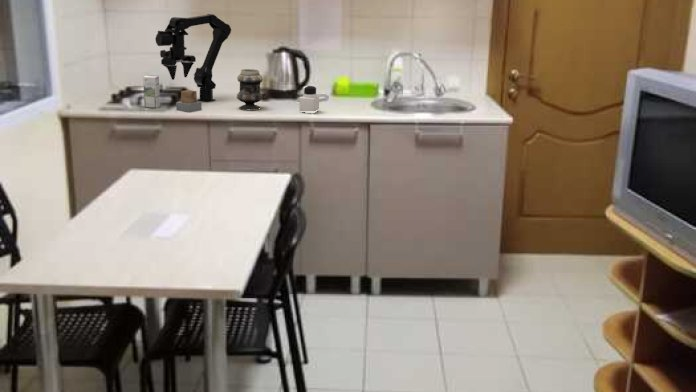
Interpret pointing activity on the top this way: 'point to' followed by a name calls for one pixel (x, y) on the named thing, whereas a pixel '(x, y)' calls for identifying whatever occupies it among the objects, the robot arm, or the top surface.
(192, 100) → the walnut cube
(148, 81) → the syrup box
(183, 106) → the stoneware block
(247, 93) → the apothecary jar
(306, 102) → the medicine bottle
